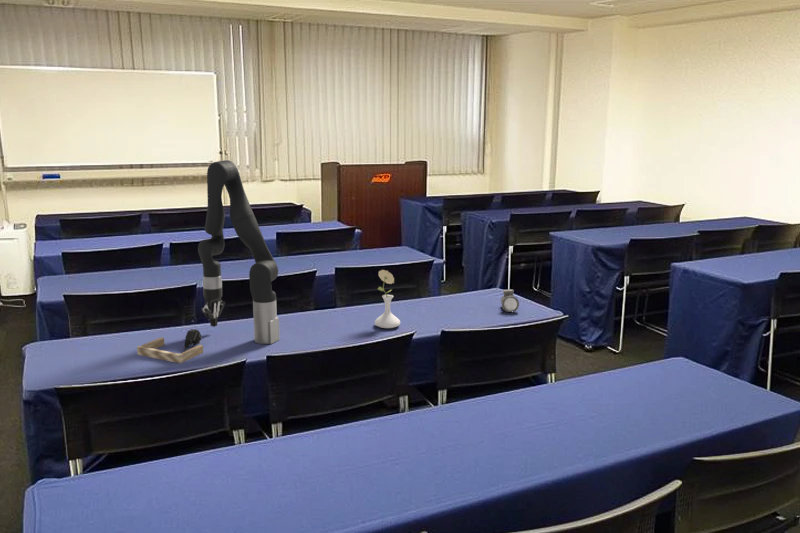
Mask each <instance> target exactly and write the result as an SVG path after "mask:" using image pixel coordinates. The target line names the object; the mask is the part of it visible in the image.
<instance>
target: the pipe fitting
mask: <svg viewBox="0 0 800 533" xmlns="http://www.w3.org/2000/svg"><path fill="white" fill-rule="evenodd" d="M514 291H515V290H514V289H511V288H510V289H504V290H502V293H503V296H502V297H501V298H500V304H501V308H502V309H503V310H504V311H505V312H506V313H508V312H512V311H513V312H512V313H514V311H515V312H516V311H517V310H518V309H519V308H520V302H519V298H517V297H516V296H514Z"/></svg>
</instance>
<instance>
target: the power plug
mask: <svg viewBox="0 0 800 533" xmlns="http://www.w3.org/2000/svg"><path fill="white" fill-rule="evenodd" d="M184 338H185V340H184V345H183V346H184V350H183V352H185V351H187V350H188V348H189V349H190V346H192V345H193V346H195V345H196V346H197V344H198V345H199V344H201V341H202V334H201V332H200V330H199V329H190V330H188V331H187V332H186V335H185V337H184Z"/></svg>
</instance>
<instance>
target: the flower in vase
mask: <svg viewBox="0 0 800 533" xmlns="http://www.w3.org/2000/svg"><path fill="white" fill-rule="evenodd" d="M378 277H379V279H380V280H381V281H382V282H383V284H382V286H378V288H377V290H378V291H379V292H384V294H383V295H381V297H382V298H383V301H384V312H383V313H382V314H381V315H380V316H378V317H377V318H376V319H375V320H374V324H375V326H376V327H378V328H382V329H394V328H396V327H398V326H400V325H401V320H400V319H399V318H398V317H396V315H394V314H393V313H392V311H391V302H392V299H393V298H394V295H393V294H388V293H391V291H393V289H389V290H388V291H386V290H385V288H384V287H385V283H386V284H389V285H392V284H395V277H394V275H393V274H392V273H391V272H389V270H385V269H381V270H379V271H378Z"/></svg>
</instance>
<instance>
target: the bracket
mask: <svg viewBox="0 0 800 533" xmlns="http://www.w3.org/2000/svg"><path fill="white" fill-rule="evenodd" d="M163 346H165V338H164V337H159V338H156V339H153V340H151V341H148V342H145V343H143V344H141V345H138V346H136V350H137V355H138V356H143V357H149V358H152V359H157V360H162V361H167V362H172V363H175V364H176V363H177V364H182V363H184V362H186V361H189V360H191V359H192V358H194V357H197V356H199V355H201V354H203V353H204V344H203V345H202V344H198V345H196V346H193V347H191V348H189V349H186V351H185V352H184V351H183V352H181V353H177V352H172V351H168V350H162V349H159V348H162V347H163Z"/></svg>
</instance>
